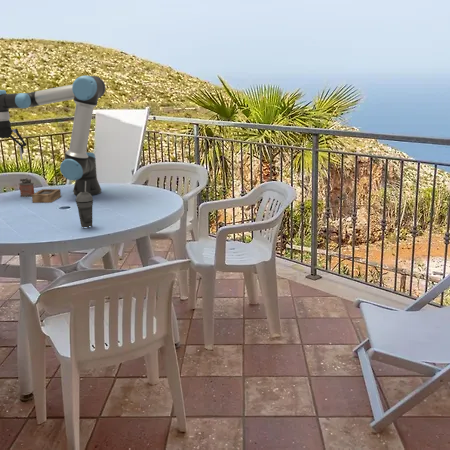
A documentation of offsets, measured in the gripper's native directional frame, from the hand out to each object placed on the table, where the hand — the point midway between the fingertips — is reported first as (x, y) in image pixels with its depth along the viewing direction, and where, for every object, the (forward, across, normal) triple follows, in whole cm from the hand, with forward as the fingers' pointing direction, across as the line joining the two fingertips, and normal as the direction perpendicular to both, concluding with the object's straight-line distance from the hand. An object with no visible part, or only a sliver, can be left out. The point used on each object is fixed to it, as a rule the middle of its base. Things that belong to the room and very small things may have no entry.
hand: (8, 160), depth 273 cm
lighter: (+21, -7, +1) cm, 22 cm away
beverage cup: (+22, -23, +80) cm, 86 cm away
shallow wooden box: (+21, -15, +15) cm, 30 cm away
